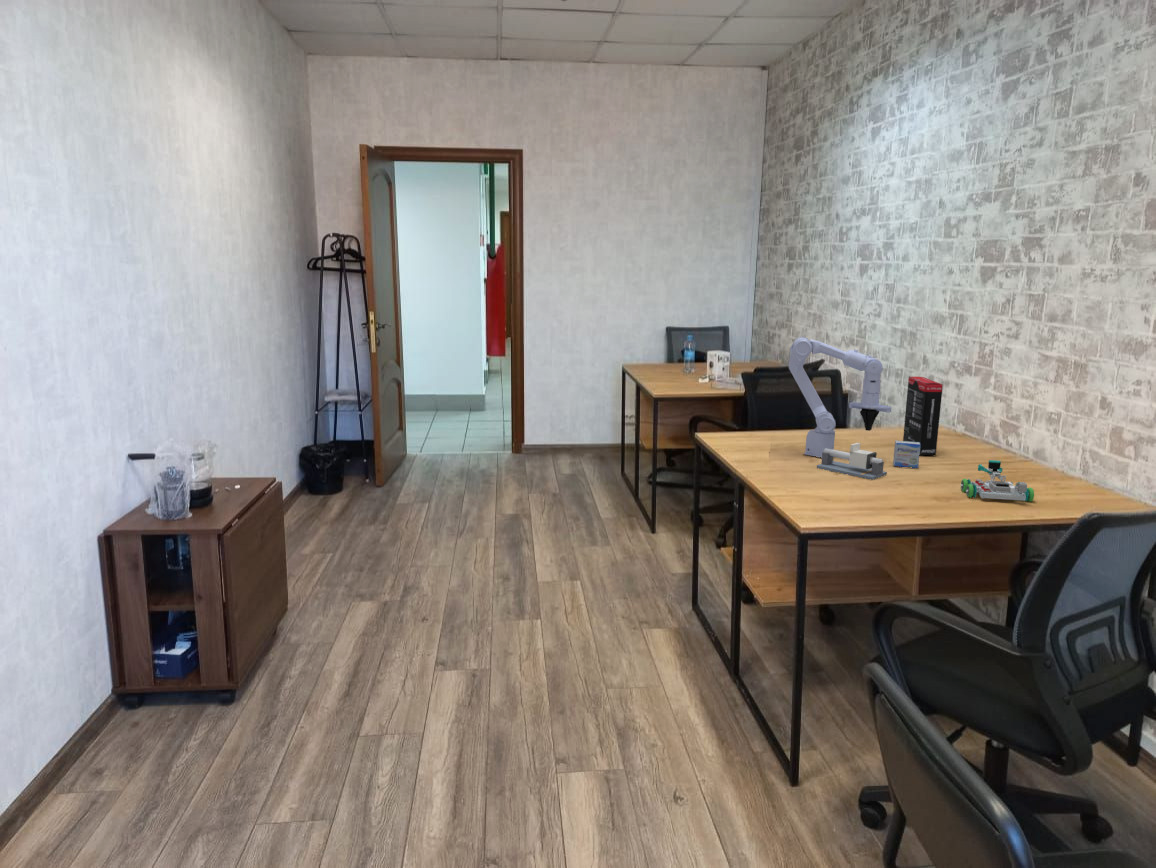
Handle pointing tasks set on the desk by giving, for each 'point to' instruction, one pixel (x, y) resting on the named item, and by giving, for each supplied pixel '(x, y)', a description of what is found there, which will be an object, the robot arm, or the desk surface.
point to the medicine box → (906, 454)
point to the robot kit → (996, 485)
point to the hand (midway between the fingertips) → (868, 430)
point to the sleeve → (858, 456)
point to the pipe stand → (850, 470)
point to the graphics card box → (923, 413)
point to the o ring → (869, 460)
